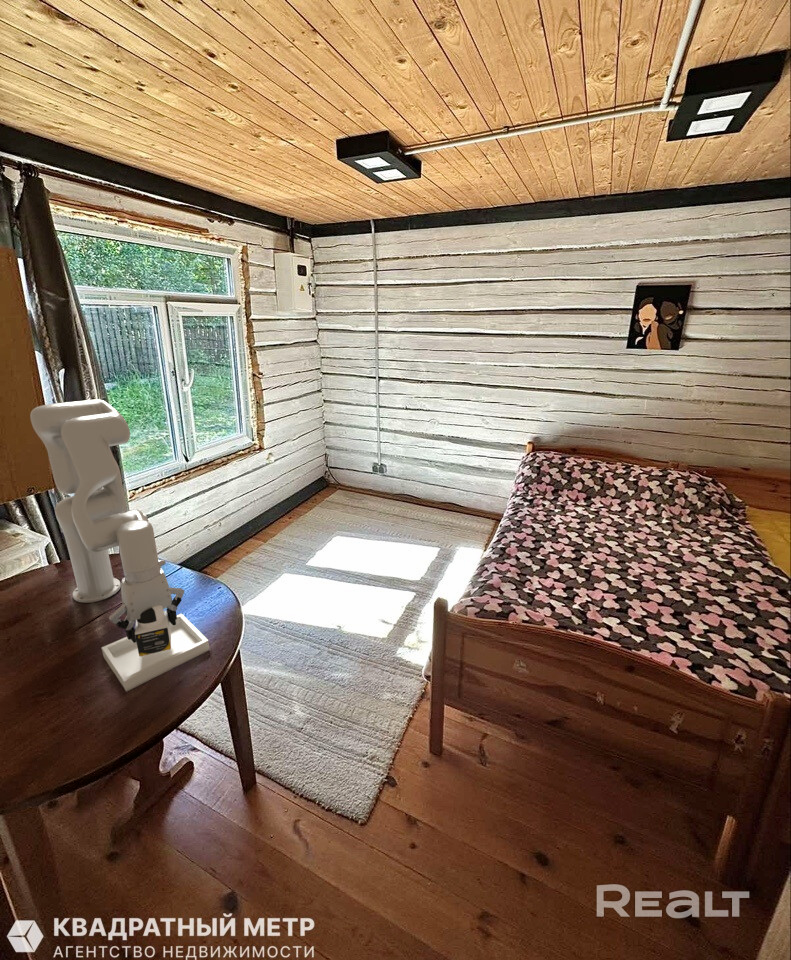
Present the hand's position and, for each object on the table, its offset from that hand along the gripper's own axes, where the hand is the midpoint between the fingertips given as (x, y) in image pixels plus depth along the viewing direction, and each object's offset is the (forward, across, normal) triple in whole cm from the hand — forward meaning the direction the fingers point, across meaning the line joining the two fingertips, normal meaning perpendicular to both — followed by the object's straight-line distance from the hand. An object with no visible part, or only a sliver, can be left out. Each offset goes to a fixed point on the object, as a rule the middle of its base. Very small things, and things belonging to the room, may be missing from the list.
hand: (153, 631), depth 118 cm
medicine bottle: (+4, 0, 0) cm, 4 cm away
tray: (+7, 0, 0) cm, 7 cm away
